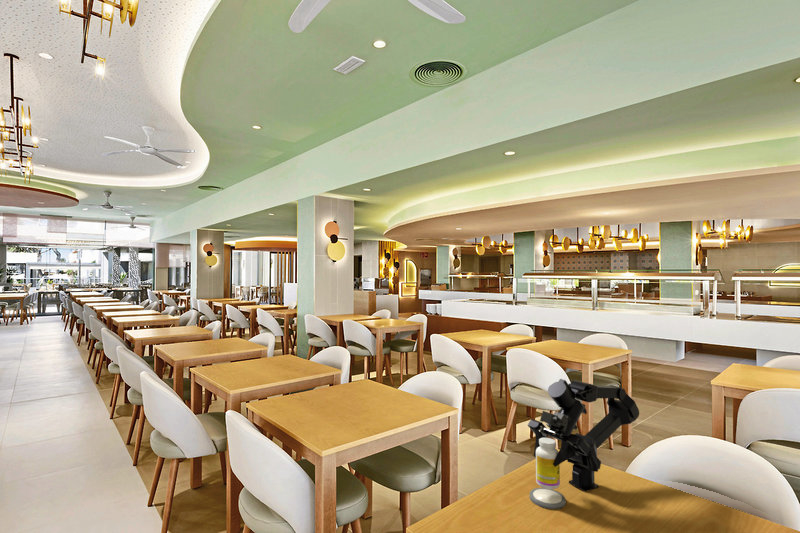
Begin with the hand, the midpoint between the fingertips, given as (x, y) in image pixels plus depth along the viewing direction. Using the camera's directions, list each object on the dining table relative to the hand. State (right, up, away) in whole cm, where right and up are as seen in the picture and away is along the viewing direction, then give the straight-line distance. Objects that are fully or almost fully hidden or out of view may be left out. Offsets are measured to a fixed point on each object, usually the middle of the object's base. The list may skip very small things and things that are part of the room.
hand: (544, 461), depth 122 cm
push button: (+1, -12, 0) cm, 12 cm away
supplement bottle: (+1, -7, +1) cm, 7 cm away
